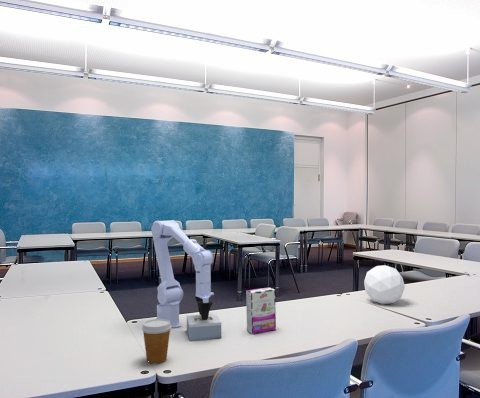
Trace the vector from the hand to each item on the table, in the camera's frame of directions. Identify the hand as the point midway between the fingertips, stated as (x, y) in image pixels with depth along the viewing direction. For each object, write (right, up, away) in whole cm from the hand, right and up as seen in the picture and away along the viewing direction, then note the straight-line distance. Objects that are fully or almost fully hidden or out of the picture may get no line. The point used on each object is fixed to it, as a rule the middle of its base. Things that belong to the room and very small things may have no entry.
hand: (203, 317), depth 150 cm
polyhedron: (+88, -7, +47) cm, 100 cm away
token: (0, -6, 0) cm, 6 cm away
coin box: (0, -7, 0) cm, 7 cm away
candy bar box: (+23, -7, +4) cm, 24 cm away
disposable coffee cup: (-13, -7, -25) cm, 29 cm away
